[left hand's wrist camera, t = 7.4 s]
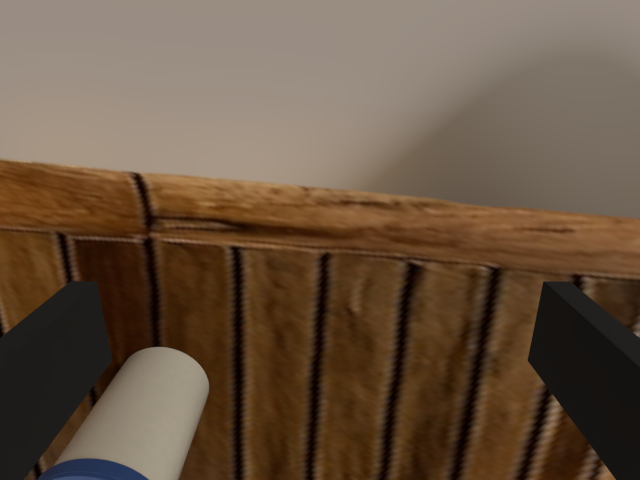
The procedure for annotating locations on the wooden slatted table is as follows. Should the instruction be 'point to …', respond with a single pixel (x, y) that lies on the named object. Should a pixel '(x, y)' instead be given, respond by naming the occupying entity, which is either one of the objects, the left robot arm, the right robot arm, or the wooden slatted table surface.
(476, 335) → the wooden slatted table surface
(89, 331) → the left robot arm
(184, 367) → the jar
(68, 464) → the lid
